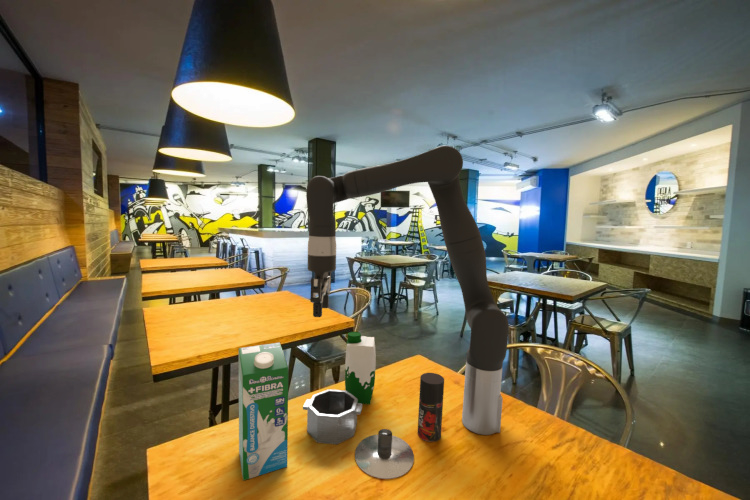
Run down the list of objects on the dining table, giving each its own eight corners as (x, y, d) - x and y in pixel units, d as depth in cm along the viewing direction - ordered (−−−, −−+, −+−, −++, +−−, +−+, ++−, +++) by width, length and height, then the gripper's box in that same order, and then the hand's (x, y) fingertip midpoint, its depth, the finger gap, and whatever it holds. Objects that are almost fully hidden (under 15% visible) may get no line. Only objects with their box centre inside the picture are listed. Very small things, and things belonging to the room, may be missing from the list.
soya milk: (346, 389, 103) (347, 328, 101) (374, 390, 103) (376, 329, 101) (342, 405, 94) (344, 338, 92) (373, 406, 94) (376, 340, 92)
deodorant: (445, 434, 83) (448, 378, 82) (432, 445, 79) (435, 386, 77) (426, 423, 87) (429, 370, 86) (412, 433, 83) (415, 378, 81)
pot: (363, 416, 90) (364, 392, 89) (357, 446, 78) (358, 418, 77) (311, 411, 91) (311, 387, 90) (297, 440, 79) (297, 413, 78)
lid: (412, 439, 81) (413, 418, 81) (414, 483, 68) (416, 457, 67) (359, 434, 82) (359, 413, 82) (350, 476, 69) (351, 451, 68)
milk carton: (243, 481, 66) (242, 364, 64) (239, 452, 74) (238, 347, 72) (287, 467, 71) (288, 356, 68) (279, 441, 79) (280, 341, 76)
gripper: (330, 256, 79) (329, 321, 81) (340, 250, 94) (339, 305, 95) (300, 255, 80) (300, 319, 81) (314, 249, 94) (313, 304, 96)
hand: (321, 312), depth 88 cm, fingers open, 8 cm apart
